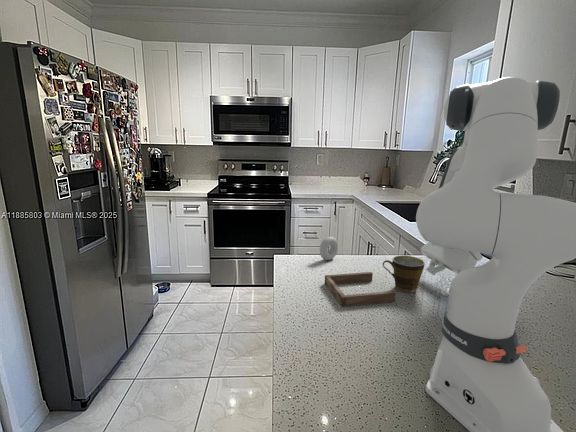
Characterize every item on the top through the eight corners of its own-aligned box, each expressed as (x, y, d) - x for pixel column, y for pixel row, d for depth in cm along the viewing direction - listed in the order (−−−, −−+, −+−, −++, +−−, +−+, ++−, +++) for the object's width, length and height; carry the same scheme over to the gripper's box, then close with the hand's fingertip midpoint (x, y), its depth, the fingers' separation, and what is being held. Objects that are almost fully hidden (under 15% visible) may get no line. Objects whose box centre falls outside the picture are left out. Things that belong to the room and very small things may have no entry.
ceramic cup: (419, 284, 110) (422, 256, 108) (423, 297, 100) (427, 267, 98) (380, 280, 113) (382, 253, 111) (381, 292, 103) (383, 263, 101)
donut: (333, 256, 137) (334, 233, 134) (339, 258, 134) (340, 235, 132) (317, 261, 130) (318, 238, 128) (323, 263, 128) (324, 239, 126)
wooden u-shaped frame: (394, 301, 97) (395, 292, 97) (342, 306, 94) (342, 297, 93) (370, 279, 113) (371, 271, 112) (324, 283, 109) (324, 275, 109)
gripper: (433, 229, 116) (407, 256, 116) (476, 246, 97) (444, 279, 97) (442, 240, 118) (416, 267, 118) (486, 259, 99) (455, 291, 99)
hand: (429, 272), depth 108 cm, fingers closed
